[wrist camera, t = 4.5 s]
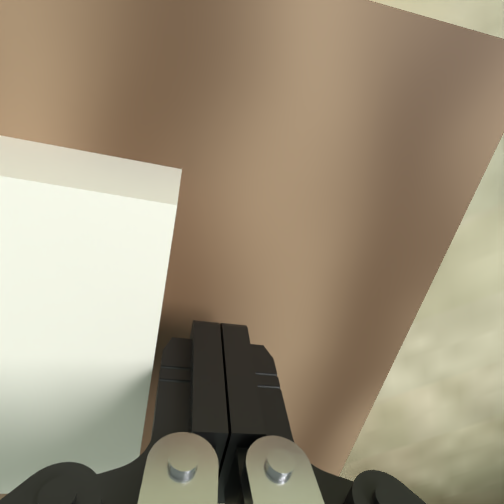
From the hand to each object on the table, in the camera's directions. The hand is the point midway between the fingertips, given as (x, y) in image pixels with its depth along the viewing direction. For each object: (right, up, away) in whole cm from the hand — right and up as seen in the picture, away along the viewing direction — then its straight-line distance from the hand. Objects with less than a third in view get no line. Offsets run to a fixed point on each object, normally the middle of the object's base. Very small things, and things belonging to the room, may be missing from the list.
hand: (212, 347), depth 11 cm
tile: (-4, +1, -1) cm, 5 cm away
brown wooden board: (-2, +3, +4) cm, 5 cm away
